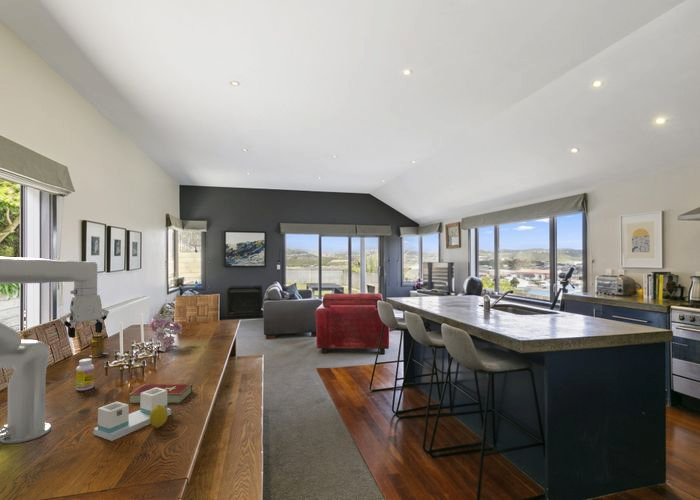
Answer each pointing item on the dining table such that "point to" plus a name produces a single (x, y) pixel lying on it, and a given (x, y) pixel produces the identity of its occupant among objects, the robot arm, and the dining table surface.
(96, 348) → the condiment
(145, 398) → the seated sleeve
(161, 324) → the flower
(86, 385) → the supplement bottle
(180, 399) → the hardcover book
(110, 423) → the sleeve
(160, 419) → the lemon
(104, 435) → the pin board
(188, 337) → the dining table surface
